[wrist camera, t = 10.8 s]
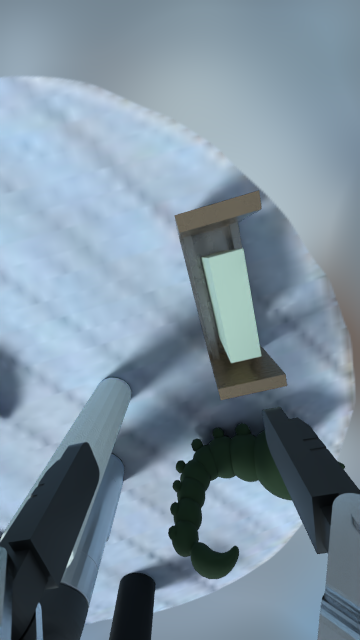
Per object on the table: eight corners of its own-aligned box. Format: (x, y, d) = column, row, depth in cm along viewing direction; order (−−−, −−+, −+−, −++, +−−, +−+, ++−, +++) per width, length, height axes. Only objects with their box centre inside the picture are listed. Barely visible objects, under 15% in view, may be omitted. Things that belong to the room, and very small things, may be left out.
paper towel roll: (128, 374, 37) (61, 527, 16) (134, 404, 38) (80, 576, 18) (87, 378, 37) (-31, 532, 16) (95, 408, 39) (-3, 580, 18)
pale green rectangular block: (240, 329, 33) (261, 356, 24) (218, 335, 33) (231, 363, 25) (225, 250, 30) (243, 248, 21) (200, 257, 30) (208, 257, 21)
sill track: (258, 350, 35) (286, 385, 26) (210, 361, 36) (220, 400, 26) (233, 211, 29) (259, 190, 20) (176, 228, 30) (174, 215, 20)
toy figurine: (187, 458, 44) (318, 442, 40) (178, 601, 26) (413, 600, 22) (174, 422, 41) (312, 400, 37) (154, 553, 24) (416, 541, 19)
